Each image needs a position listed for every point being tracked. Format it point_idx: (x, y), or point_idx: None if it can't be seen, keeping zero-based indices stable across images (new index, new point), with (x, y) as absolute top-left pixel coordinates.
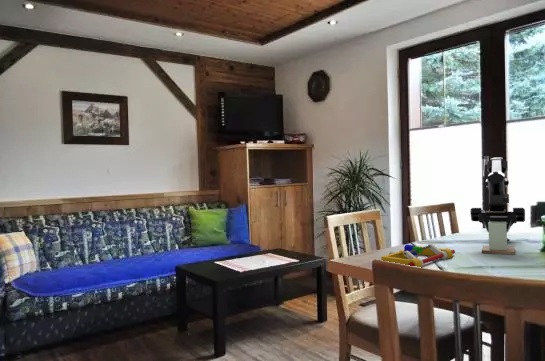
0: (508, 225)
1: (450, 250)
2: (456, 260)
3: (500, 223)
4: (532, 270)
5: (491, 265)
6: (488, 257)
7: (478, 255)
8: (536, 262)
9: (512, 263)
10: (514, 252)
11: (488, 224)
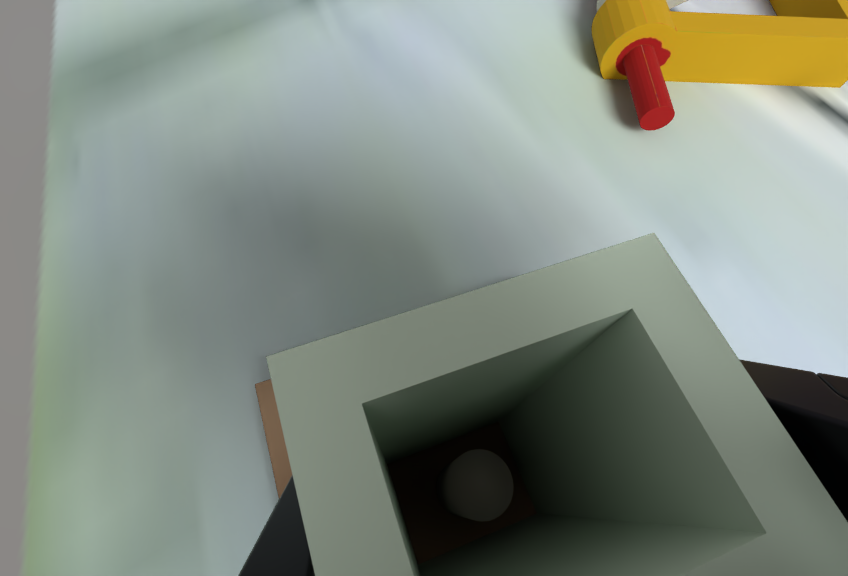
0: (265, 545)
1: (622, 26)
2: (528, 29)
3: (402, 313)
4: (96, 6)
5: (315, 11)
6: (413, 180)
7: (504, 208)
8: (72, 185)
9: (220, 94)
10: (262, 385)
11: (636, 250)
